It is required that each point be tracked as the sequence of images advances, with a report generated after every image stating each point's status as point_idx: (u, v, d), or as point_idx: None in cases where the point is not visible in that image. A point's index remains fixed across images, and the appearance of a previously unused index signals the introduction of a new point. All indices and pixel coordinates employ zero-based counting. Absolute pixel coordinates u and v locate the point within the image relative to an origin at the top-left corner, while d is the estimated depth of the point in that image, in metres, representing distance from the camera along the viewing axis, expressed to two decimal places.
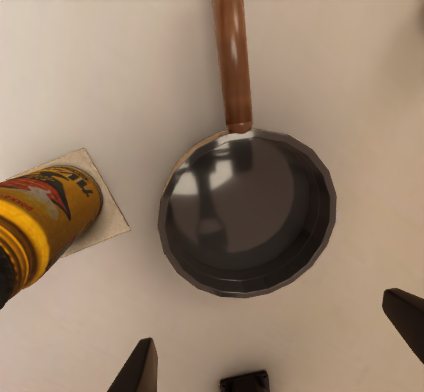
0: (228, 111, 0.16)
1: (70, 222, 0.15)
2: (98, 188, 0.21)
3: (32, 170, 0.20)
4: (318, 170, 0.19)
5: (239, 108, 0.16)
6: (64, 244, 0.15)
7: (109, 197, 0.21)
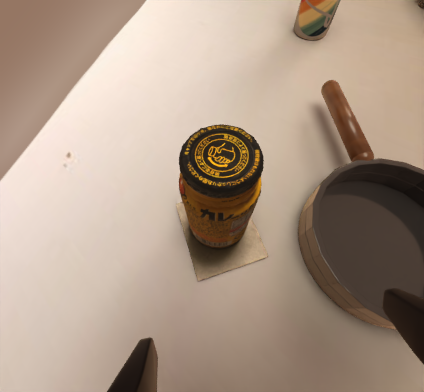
0: (353, 148, 0.24)
1: None
2: None
3: None
4: None
5: (362, 144, 0.23)
6: (256, 202, 0.18)
7: (251, 223, 0.24)
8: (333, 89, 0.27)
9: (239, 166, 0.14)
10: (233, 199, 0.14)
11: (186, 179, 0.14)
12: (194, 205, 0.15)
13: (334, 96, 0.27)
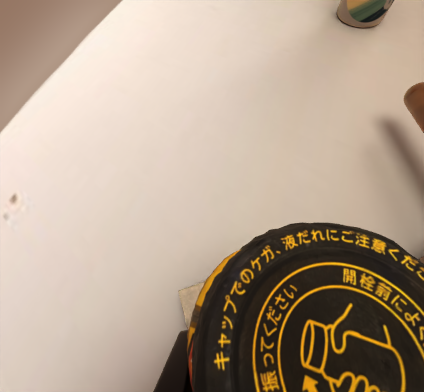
0: None
1: None
2: None
3: None
4: None
5: None
6: None
7: None
8: None
9: None
10: None
11: None
12: None
13: None
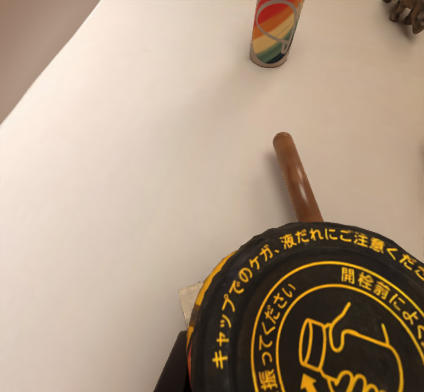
0: None
1: None
2: None
3: None
4: None
5: None
6: None
7: None
8: (284, 145, 0.23)
9: None
10: None
11: None
12: None
13: (285, 155, 0.22)
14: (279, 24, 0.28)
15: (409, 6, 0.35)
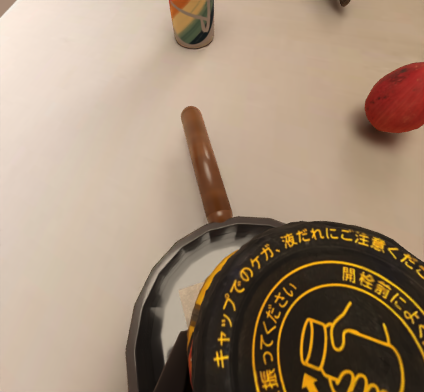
0: (205, 204, 0.17)
1: None
2: None
3: None
4: None
5: (214, 199, 0.17)
6: None
7: None
8: (188, 119, 0.21)
9: None
10: None
11: None
12: None
13: (189, 129, 0.20)
14: None
15: None
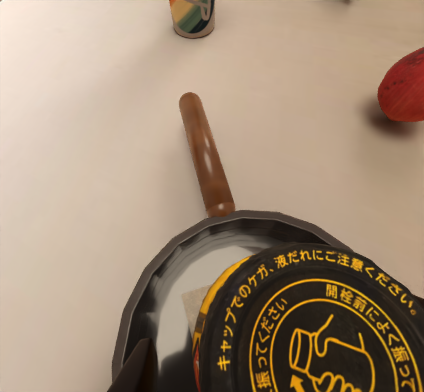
0: (205, 197, 0.16)
1: None
2: None
3: None
4: None
5: (215, 190, 0.15)
6: None
7: None
8: (187, 106, 0.19)
9: None
10: None
11: None
12: None
13: (188, 116, 0.19)
14: None
15: None
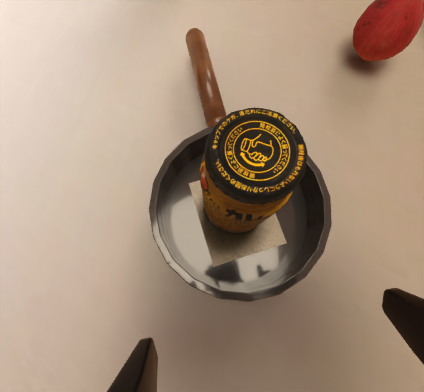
0: (206, 113, 0.22)
1: None
2: None
3: None
4: None
5: (214, 108, 0.21)
6: None
7: None
8: (192, 40, 0.23)
9: (278, 166, 0.11)
10: (268, 203, 0.12)
11: (214, 180, 0.11)
12: (219, 204, 0.13)
13: (193, 50, 0.23)
14: None
15: None
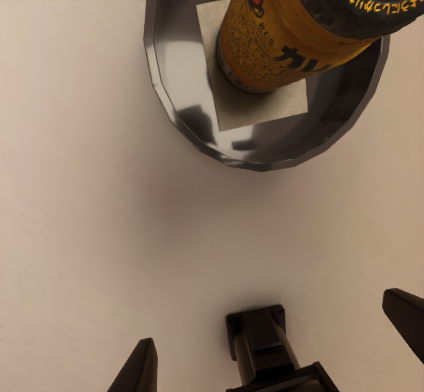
0: None
1: None
2: None
3: (230, 1, 0.16)
4: None
5: None
6: None
7: None
8: None
9: None
10: (360, 42, 0.08)
11: None
12: (274, 36, 0.09)
13: None
14: None
15: None
